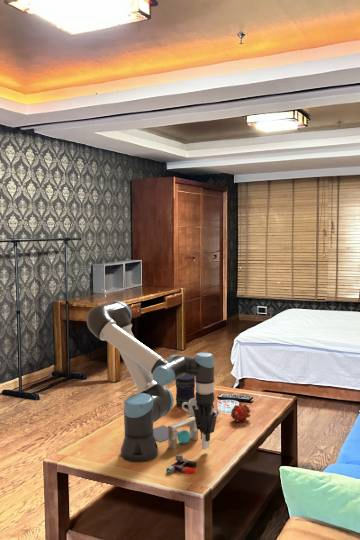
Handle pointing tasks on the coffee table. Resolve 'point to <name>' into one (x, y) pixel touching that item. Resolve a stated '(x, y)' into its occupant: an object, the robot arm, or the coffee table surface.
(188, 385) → the storage jar
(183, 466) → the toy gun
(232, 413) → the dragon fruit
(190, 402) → the teacup
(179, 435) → the ball
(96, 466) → the coffee table surface
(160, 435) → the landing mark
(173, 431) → the bridge
